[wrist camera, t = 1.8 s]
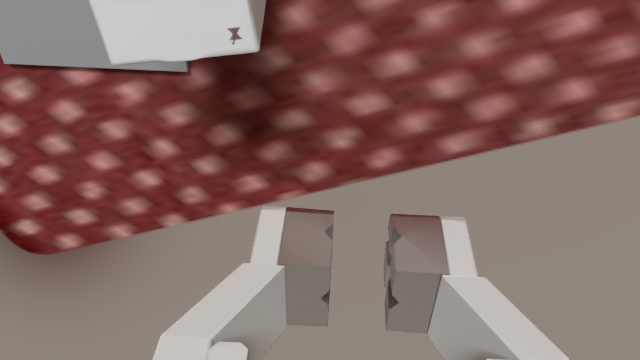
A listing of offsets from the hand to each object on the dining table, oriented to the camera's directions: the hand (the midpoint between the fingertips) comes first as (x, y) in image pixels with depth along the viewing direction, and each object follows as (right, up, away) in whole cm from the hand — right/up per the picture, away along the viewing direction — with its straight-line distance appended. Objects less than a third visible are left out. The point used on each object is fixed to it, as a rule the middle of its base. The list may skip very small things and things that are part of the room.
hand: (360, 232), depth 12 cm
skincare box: (-7, +15, +18) cm, 24 cm away
